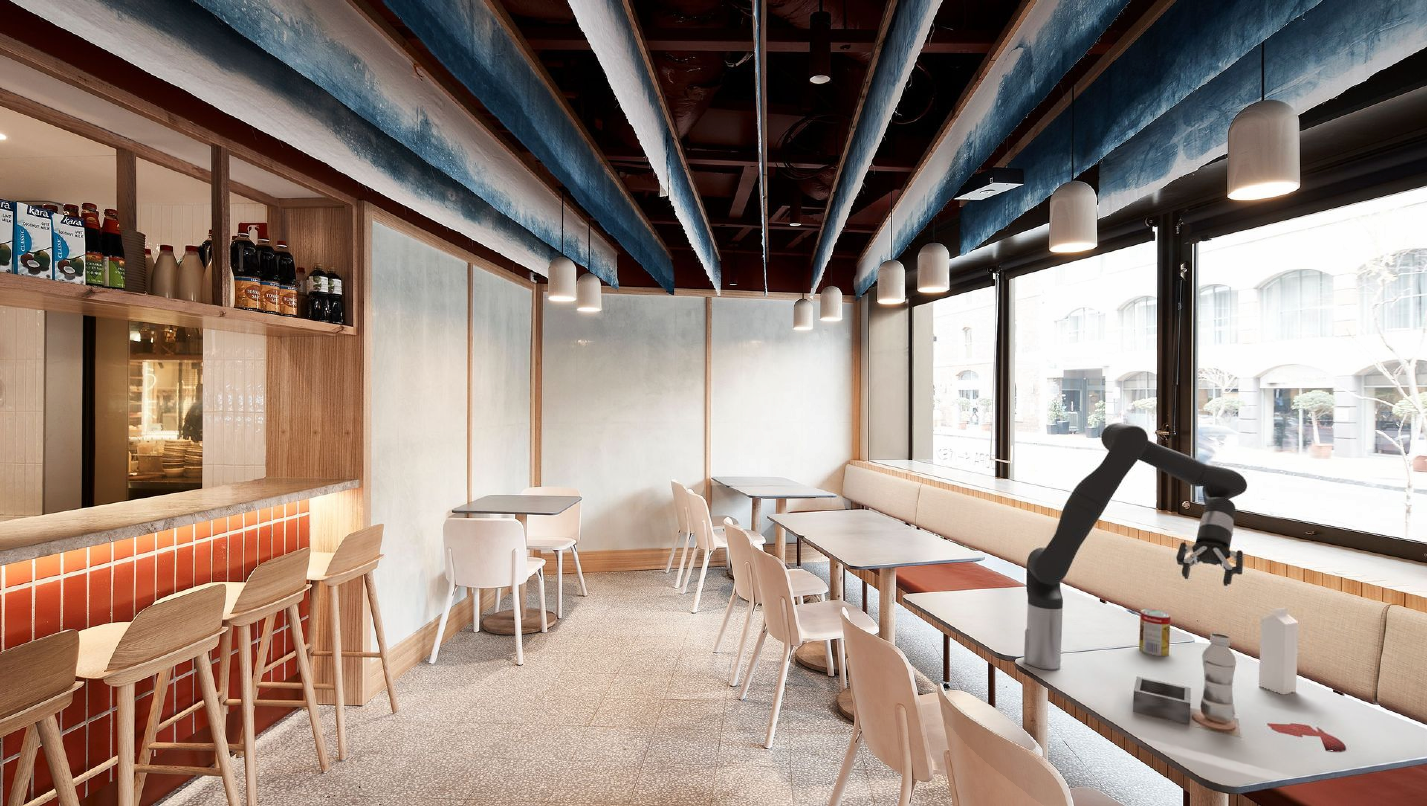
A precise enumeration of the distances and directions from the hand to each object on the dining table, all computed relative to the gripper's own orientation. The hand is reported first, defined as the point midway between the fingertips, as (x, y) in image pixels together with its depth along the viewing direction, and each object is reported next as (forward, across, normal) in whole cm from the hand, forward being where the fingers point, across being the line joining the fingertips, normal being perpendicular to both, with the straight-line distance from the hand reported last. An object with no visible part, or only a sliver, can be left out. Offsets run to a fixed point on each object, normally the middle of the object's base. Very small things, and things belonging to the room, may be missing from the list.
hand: (1205, 580), depth 184 cm
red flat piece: (+29, +20, +16) cm, 38 cm away
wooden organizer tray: (+36, 0, +8) cm, 37 cm away
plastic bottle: (+34, +6, +7) cm, 35 cm away
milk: (+5, +13, +39) cm, 41 cm away
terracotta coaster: (+34, +6, +7) cm, 35 cm away
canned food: (-1, -18, +44) cm, 48 cm away
